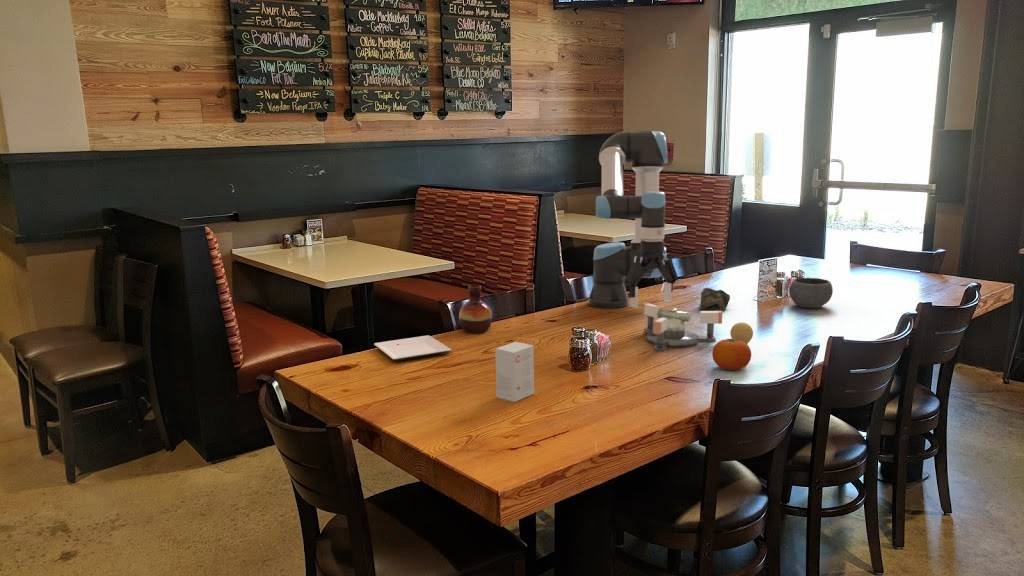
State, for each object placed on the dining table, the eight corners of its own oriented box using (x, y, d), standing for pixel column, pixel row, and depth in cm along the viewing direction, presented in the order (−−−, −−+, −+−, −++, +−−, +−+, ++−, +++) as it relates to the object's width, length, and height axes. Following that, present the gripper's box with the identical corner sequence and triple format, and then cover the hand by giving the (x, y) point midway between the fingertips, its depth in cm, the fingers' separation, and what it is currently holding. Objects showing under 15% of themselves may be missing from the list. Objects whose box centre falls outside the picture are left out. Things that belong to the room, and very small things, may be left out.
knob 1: (659, 330, 254) (659, 306, 252) (654, 331, 253) (654, 307, 251) (646, 325, 259) (647, 302, 258) (641, 326, 258) (642, 303, 257)
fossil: (726, 303, 293) (730, 282, 287) (729, 319, 286) (733, 299, 280) (697, 301, 294) (700, 281, 288) (699, 318, 287) (702, 297, 281)
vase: (497, 328, 264) (497, 283, 261) (483, 336, 255) (482, 290, 251) (468, 325, 269) (467, 281, 266) (453, 332, 259) (452, 287, 256)
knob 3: (700, 337, 245) (701, 312, 243) (699, 335, 247) (700, 310, 245) (721, 337, 245) (722, 312, 243) (719, 335, 247) (720, 310, 245)
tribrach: (621, 345, 242) (621, 313, 240) (647, 329, 259) (647, 300, 257) (696, 356, 229) (697, 322, 227) (718, 339, 247) (719, 308, 245)
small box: (515, 389, 204) (515, 341, 201) (534, 394, 200) (534, 345, 197) (495, 397, 198) (494, 348, 195) (514, 402, 194) (513, 352, 191)
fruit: (744, 376, 211) (745, 348, 209) (706, 370, 216) (707, 342, 215) (754, 365, 220) (756, 338, 218) (718, 360, 225) (719, 333, 224)
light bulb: (752, 353, 231) (754, 321, 229) (751, 359, 226) (753, 326, 223) (730, 351, 233) (731, 319, 231) (728, 357, 228) (730, 324, 226)
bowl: (787, 310, 284) (789, 283, 281) (789, 301, 297) (791, 275, 295) (831, 313, 278) (833, 285, 276) (831, 304, 292) (833, 278, 289)
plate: (393, 365, 226) (393, 358, 226) (373, 349, 242) (373, 343, 242) (452, 355, 235) (452, 349, 234) (429, 341, 251) (429, 334, 250)
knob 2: (660, 342, 240) (661, 317, 238) (666, 343, 239) (667, 318, 237) (652, 347, 234) (653, 321, 233) (659, 348, 233) (659, 322, 232)
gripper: (628, 244, 241) (626, 311, 245) (690, 238, 253) (688, 302, 257) (613, 241, 247) (612, 306, 252) (675, 236, 259) (673, 298, 263)
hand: (651, 304), depth 254 cm, fingers open, 13 cm apart
